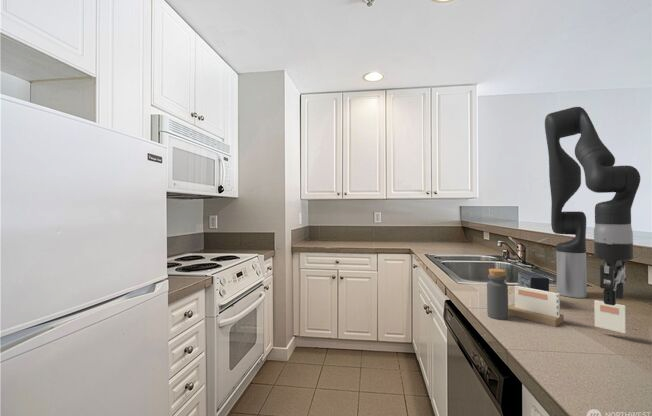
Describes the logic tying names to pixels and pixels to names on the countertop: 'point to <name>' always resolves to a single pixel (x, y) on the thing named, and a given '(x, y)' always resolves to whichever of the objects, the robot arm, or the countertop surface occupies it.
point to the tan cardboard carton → (536, 306)
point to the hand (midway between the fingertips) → (613, 301)
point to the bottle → (497, 295)
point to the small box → (533, 281)
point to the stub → (610, 316)
